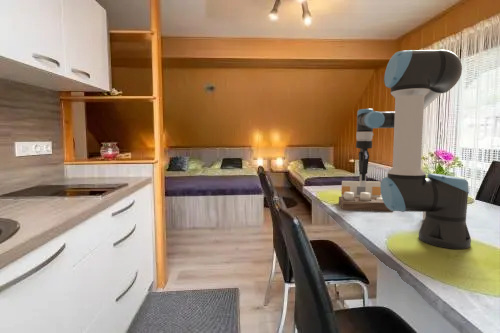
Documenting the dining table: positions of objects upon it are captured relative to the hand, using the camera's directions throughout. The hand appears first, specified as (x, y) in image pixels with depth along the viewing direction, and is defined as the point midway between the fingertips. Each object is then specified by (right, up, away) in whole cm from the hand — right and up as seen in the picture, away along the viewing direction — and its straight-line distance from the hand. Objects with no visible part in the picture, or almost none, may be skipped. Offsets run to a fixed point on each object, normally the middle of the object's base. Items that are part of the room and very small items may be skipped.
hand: (362, 186), depth 148 cm
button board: (+1, -11, +1) cm, 11 cm away
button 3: (-6, -7, +1) cm, 10 cm away
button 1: (+9, -10, -1) cm, 14 cm away
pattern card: (+3, -10, +10) cm, 14 cm away
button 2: (+1, -8, 0) cm, 8 cm away
